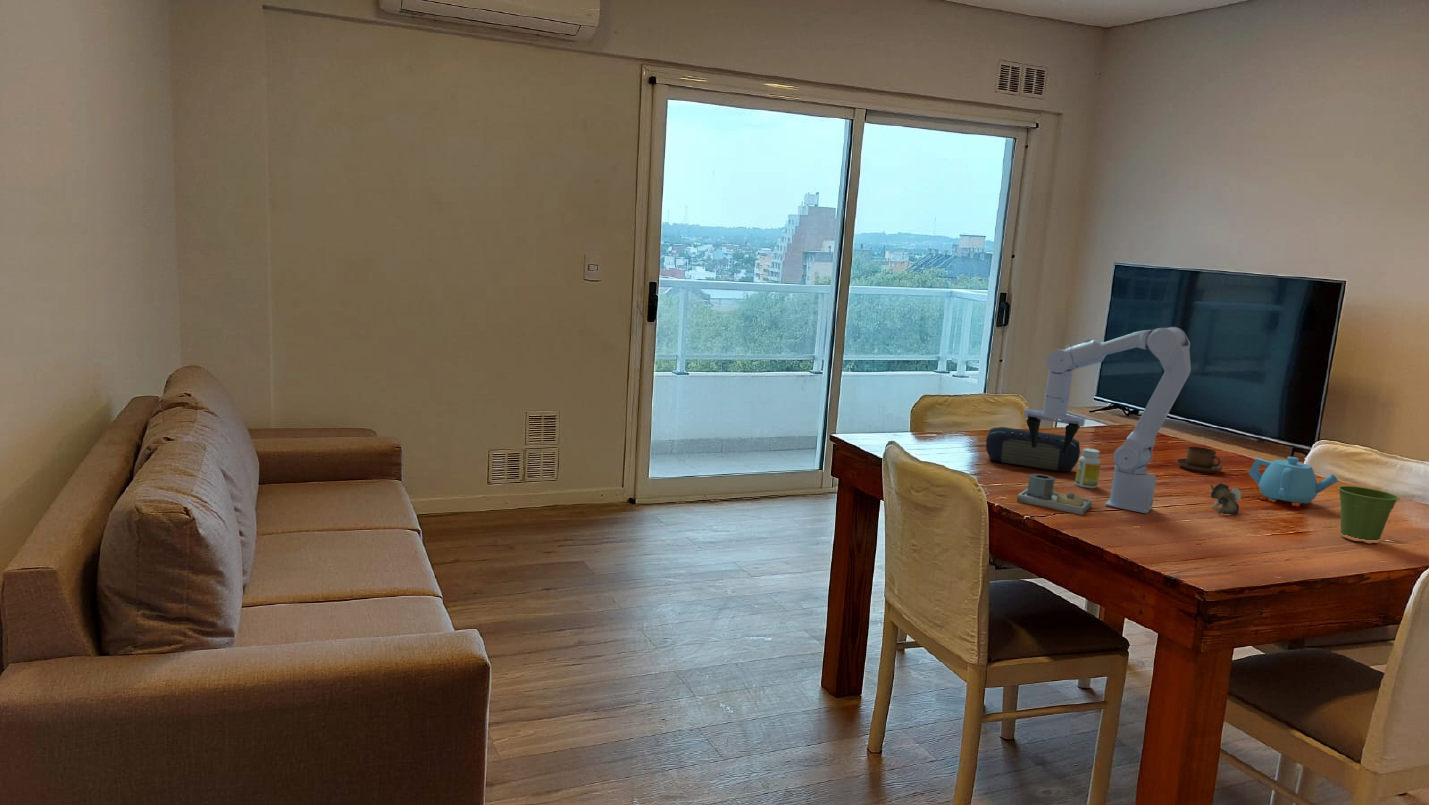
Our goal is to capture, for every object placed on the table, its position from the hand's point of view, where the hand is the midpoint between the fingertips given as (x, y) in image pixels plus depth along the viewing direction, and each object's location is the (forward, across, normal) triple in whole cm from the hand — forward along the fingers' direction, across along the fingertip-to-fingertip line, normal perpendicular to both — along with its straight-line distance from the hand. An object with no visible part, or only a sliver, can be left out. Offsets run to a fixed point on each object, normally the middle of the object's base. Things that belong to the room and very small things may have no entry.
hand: (1049, 449), depth 246 cm
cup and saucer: (+10, -29, -62) cm, 69 cm away
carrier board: (+10, -6, +15) cm, 19 cm away
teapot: (+10, -53, -38) cm, 66 cm away
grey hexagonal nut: (+9, -2, +15) cm, 18 cm away
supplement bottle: (+10, -8, -11) cm, 17 cm away
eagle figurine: (+10, -40, -14) cm, 43 cm away
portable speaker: (+10, +10, -22) cm, 26 cm away
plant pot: (+10, -68, -10) cm, 69 cm away
